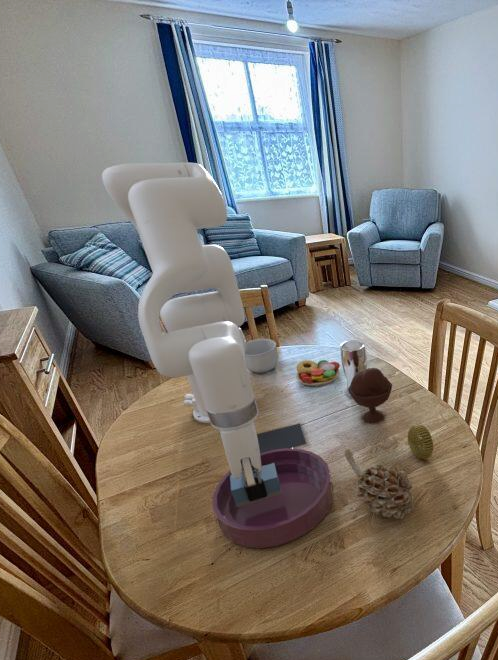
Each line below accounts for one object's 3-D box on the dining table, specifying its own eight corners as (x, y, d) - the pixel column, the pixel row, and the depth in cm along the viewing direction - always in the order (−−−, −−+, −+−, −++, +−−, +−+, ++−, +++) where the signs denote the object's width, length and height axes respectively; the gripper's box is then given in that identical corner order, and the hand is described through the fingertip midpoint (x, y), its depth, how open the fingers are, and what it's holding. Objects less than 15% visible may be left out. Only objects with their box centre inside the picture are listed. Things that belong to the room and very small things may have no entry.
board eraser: (237, 508, 76) (230, 490, 74) (235, 492, 79) (229, 475, 77) (281, 494, 79) (277, 477, 77) (278, 479, 82) (274, 462, 80)
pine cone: (429, 513, 81) (429, 475, 75) (392, 543, 75) (389, 504, 70) (360, 460, 94) (356, 425, 89) (324, 482, 88) (317, 446, 83)
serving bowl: (197, 546, 74) (187, 525, 71) (251, 464, 92) (245, 445, 90) (313, 554, 73) (309, 533, 70) (345, 469, 91) (342, 450, 88)
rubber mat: (244, 461, 93) (243, 460, 93) (241, 439, 100) (241, 438, 100) (306, 444, 98) (306, 443, 98) (299, 424, 105) (299, 423, 105)
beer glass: (346, 386, 122) (340, 340, 114) (370, 385, 122) (366, 339, 114) (344, 399, 116) (338, 351, 108) (369, 398, 116) (364, 350, 108)
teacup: (287, 363, 134) (282, 341, 130) (265, 379, 125) (260, 356, 121) (252, 357, 138) (247, 335, 134) (229, 372, 129) (222, 349, 125)
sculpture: (405, 448, 97) (404, 420, 93) (420, 442, 99) (419, 415, 95) (420, 468, 91) (420, 440, 87) (436, 462, 93) (436, 434, 89)
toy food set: (297, 368, 131) (295, 359, 129) (339, 364, 134) (338, 355, 132) (296, 390, 120) (294, 380, 118) (342, 384, 122) (340, 375, 121)
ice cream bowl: (396, 406, 112) (394, 358, 105) (389, 431, 103) (385, 380, 95) (358, 404, 113) (353, 356, 106) (347, 428, 104) (341, 377, 96)
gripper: (208, 391, 74) (233, 467, 84) (209, 445, 61) (238, 528, 70) (252, 382, 77) (271, 457, 86) (262, 431, 64) (284, 513, 73)
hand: (256, 488), depth 78 cm, fingers closed on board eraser, 4 cm apart
